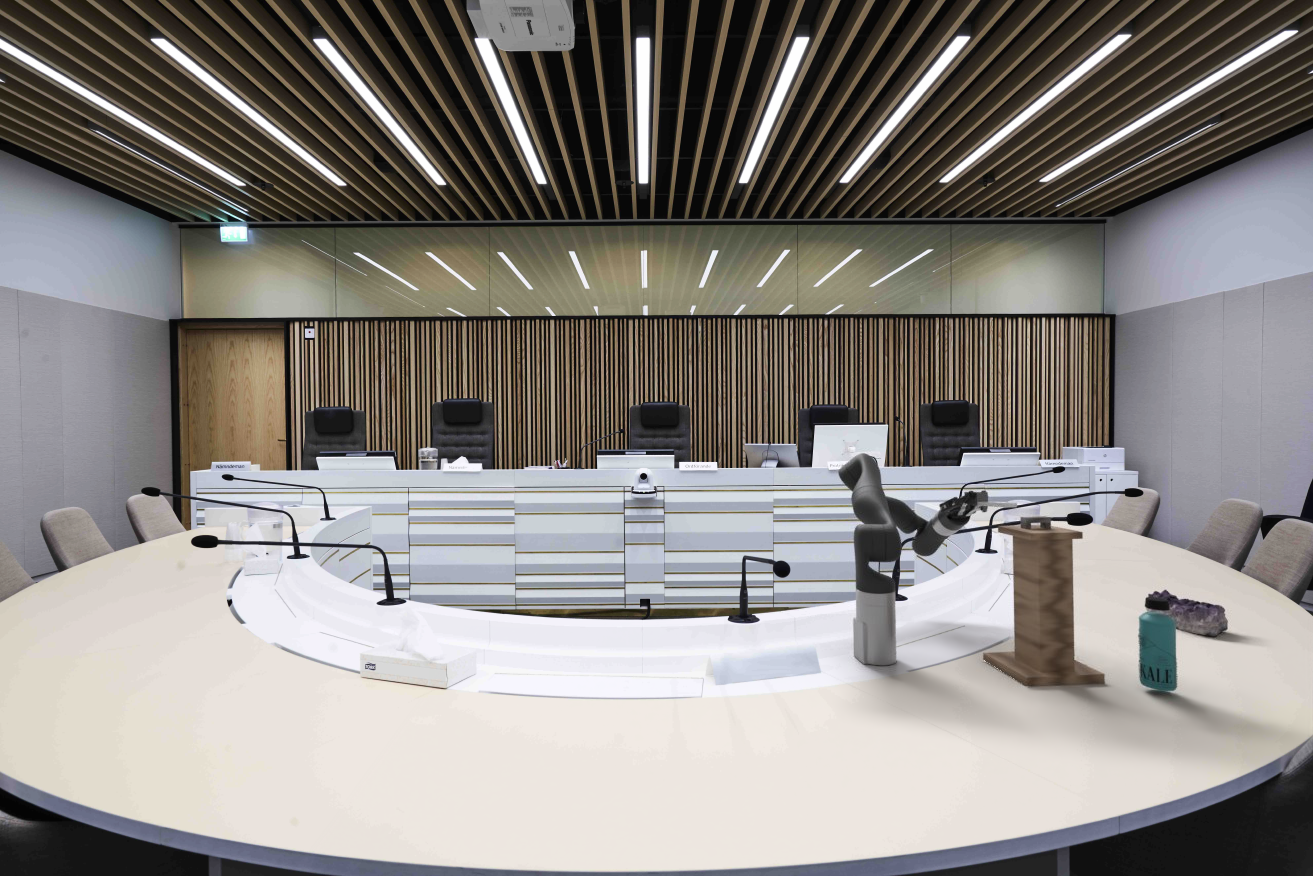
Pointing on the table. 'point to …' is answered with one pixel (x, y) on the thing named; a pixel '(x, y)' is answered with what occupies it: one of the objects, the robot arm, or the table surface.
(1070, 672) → the walnut pedestal
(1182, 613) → the geode
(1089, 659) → the table surface
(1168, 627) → the beverage bottle
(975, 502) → the steel bar
